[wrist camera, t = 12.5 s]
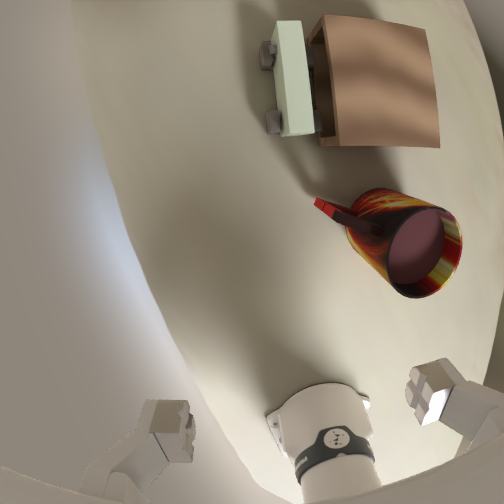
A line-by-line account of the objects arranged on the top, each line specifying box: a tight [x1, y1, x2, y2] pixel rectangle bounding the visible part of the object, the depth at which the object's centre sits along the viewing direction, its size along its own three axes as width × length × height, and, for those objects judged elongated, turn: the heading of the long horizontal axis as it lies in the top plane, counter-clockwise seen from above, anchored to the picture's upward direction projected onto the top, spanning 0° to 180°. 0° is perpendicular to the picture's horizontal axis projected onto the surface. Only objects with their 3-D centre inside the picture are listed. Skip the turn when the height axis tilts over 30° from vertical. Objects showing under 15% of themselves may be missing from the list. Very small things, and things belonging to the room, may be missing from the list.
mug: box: [314, 188, 462, 299], centre depth 33 cm, size 10×14×12 cm
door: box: [269, 21, 315, 137], centre depth 29 cm, size 12×3×7 cm, turn 5°
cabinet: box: [259, 14, 440, 148], centre depth 29 cm, size 14×18×8 cm
